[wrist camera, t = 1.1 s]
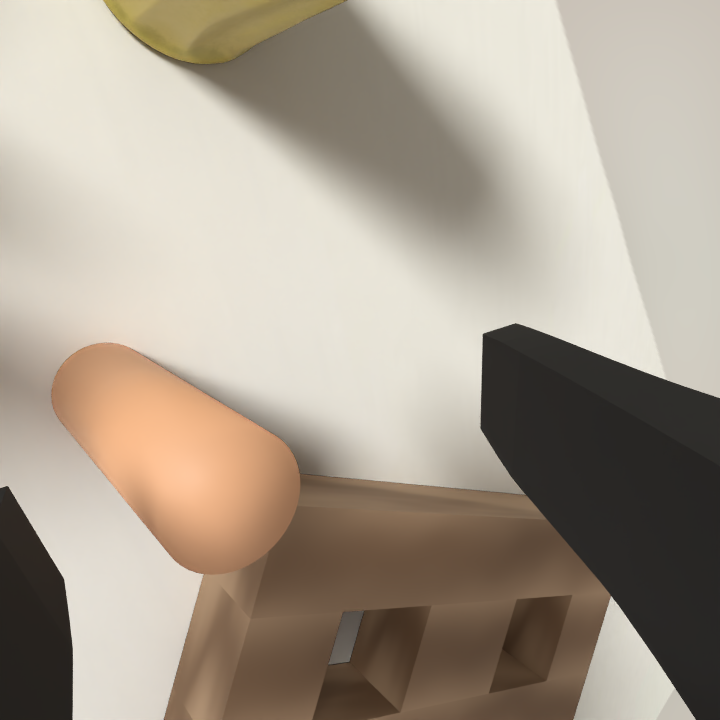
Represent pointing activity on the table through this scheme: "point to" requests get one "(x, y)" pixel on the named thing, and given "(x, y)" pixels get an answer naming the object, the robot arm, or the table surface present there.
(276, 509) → the peg
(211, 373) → the table surface
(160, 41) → the vase
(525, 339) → the robot arm
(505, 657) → the hole block
